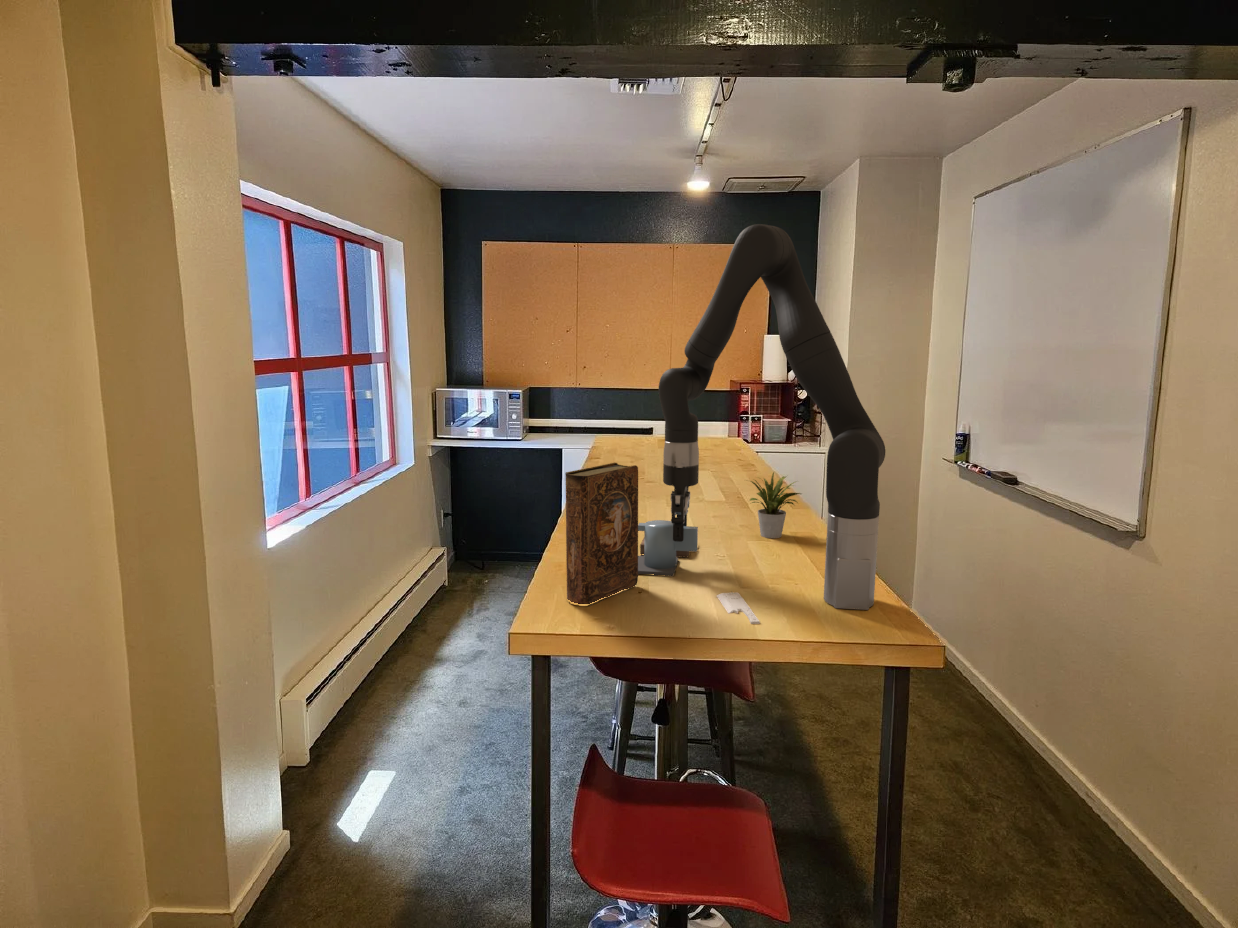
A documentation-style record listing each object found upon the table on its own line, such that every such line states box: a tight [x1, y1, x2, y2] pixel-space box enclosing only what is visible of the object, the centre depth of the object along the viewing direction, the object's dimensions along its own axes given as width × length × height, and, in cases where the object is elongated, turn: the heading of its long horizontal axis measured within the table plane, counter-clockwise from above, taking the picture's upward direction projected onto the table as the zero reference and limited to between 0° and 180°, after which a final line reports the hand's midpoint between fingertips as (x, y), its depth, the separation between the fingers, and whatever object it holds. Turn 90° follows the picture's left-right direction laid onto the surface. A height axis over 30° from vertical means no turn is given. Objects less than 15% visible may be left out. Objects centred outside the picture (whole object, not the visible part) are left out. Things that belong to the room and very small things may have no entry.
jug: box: [638, 519, 699, 569], centre depth 164 cm, size 13×7×9 cm, turn 81°
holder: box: [639, 537, 690, 558], centre depth 179 cm, size 11×11×2 cm
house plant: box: [745, 471, 802, 539], centre depth 189 cm, size 14×14×16 cm
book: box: [565, 462, 639, 604], centre depth 147 cm, size 16×6×25 cm, turn 141°
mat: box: [638, 555, 679, 577], centre depth 165 cm, size 11×11×1 cm
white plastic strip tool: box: [716, 591, 761, 625], centre depth 141 cm, size 5×15×1 cm, turn 5°
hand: (679, 535), depth 163 cm, fingers open, 8 cm apart
